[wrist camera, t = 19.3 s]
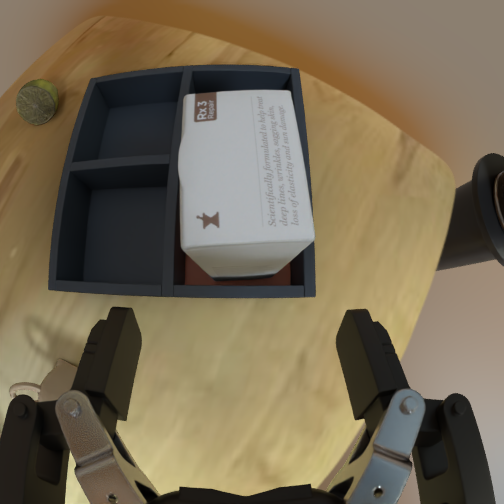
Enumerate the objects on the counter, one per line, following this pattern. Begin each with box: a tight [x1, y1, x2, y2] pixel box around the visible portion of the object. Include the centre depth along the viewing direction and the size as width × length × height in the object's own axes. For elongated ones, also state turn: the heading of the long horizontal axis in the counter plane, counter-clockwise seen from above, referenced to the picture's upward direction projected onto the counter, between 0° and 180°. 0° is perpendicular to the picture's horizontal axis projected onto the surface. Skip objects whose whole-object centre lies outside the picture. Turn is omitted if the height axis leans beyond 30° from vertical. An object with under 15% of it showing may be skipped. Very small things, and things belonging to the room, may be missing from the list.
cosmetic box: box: [178, 90, 315, 281], centre depth 15 cm, size 6×4×12 cm
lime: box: [16, 79, 59, 125], centre depth 20 cm, size 4×5×5 cm
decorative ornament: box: [9, 359, 78, 402], centre depth 16 cm, size 4×8×5 cm, turn 77°
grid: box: [48, 65, 316, 298], centre depth 20 cm, size 17×17×5 cm
